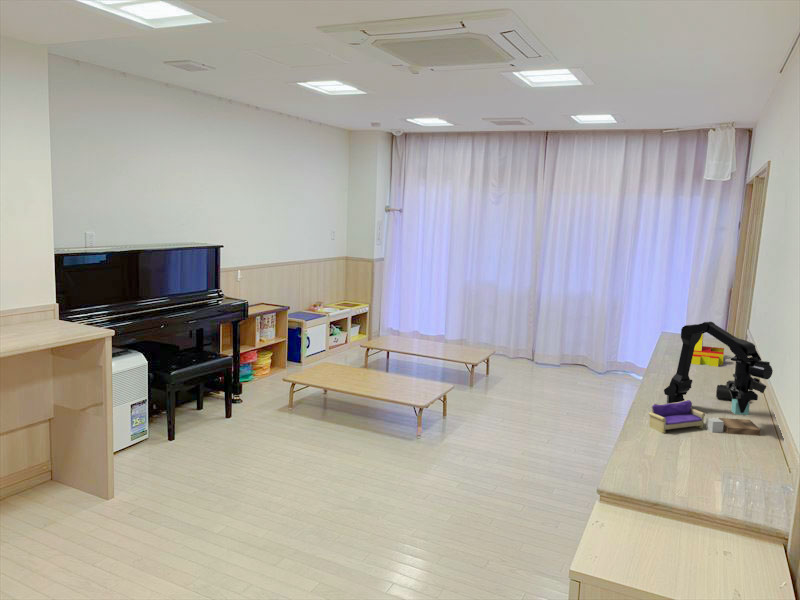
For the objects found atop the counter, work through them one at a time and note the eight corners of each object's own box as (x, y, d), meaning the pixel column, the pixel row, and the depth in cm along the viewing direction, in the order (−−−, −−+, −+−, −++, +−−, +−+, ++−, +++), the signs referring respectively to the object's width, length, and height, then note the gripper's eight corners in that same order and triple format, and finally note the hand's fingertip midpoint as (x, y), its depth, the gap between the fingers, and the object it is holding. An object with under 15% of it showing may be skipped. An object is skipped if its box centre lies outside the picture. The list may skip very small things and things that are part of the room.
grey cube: (712, 432, 246) (712, 421, 246) (705, 428, 251) (706, 418, 250) (722, 432, 247) (723, 421, 246) (716, 428, 251) (717, 418, 251)
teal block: (735, 414, 247) (736, 402, 246) (731, 410, 252) (732, 398, 251) (748, 415, 246) (749, 403, 245) (744, 411, 251) (745, 399, 250)
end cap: (715, 400, 290) (716, 386, 289) (717, 396, 295) (718, 383, 294) (739, 403, 284) (740, 389, 283) (741, 400, 290) (742, 386, 289)
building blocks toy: (686, 363, 361) (688, 333, 359) (689, 355, 383) (691, 326, 380) (722, 367, 352) (725, 336, 350) (723, 358, 374) (725, 329, 371)
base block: (727, 434, 245) (727, 427, 245) (718, 424, 257) (718, 417, 256) (759, 436, 243) (760, 429, 242) (749, 426, 254) (749, 419, 254)
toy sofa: (662, 434, 245) (663, 409, 243) (647, 427, 253) (649, 403, 252) (704, 429, 251) (706, 405, 249) (689, 422, 259) (690, 399, 258)
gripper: (773, 380, 236) (770, 419, 238) (756, 368, 254) (753, 404, 256) (742, 379, 238) (739, 417, 240) (727, 367, 256) (724, 403, 258)
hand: (739, 410), depth 249 cm, fingers closed on teal block, 5 cm apart
